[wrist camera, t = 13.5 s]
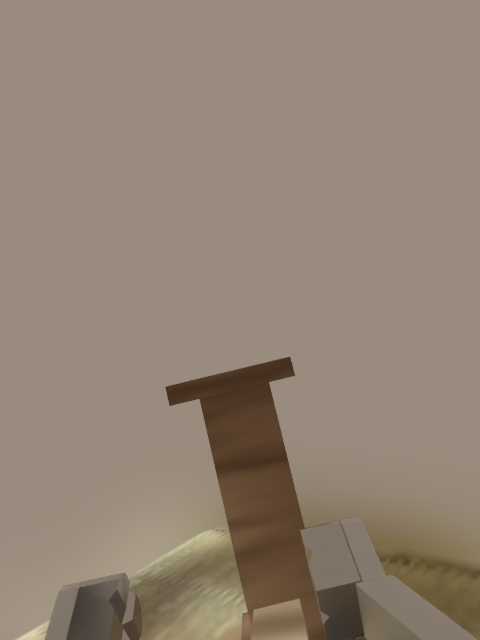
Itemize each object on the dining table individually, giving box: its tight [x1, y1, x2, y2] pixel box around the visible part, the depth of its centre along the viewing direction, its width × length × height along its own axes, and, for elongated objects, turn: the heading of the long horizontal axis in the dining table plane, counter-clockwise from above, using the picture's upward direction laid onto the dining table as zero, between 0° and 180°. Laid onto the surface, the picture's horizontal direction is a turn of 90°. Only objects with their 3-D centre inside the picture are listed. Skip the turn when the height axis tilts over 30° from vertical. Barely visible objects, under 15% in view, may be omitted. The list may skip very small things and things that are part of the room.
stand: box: [166, 357, 355, 640], centre depth 41 cm, size 14×10×26 cm
